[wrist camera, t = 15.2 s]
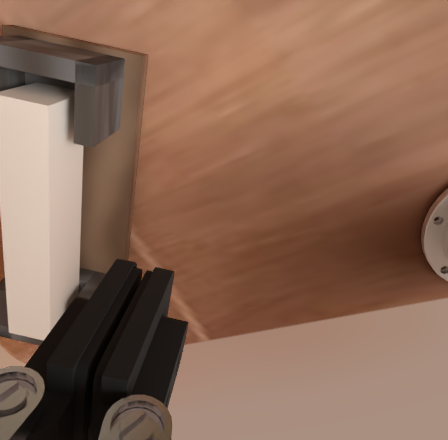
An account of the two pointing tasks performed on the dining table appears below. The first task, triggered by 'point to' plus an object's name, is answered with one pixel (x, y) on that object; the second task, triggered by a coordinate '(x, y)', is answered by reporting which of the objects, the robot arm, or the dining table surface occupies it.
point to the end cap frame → (87, 137)
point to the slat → (39, 205)
